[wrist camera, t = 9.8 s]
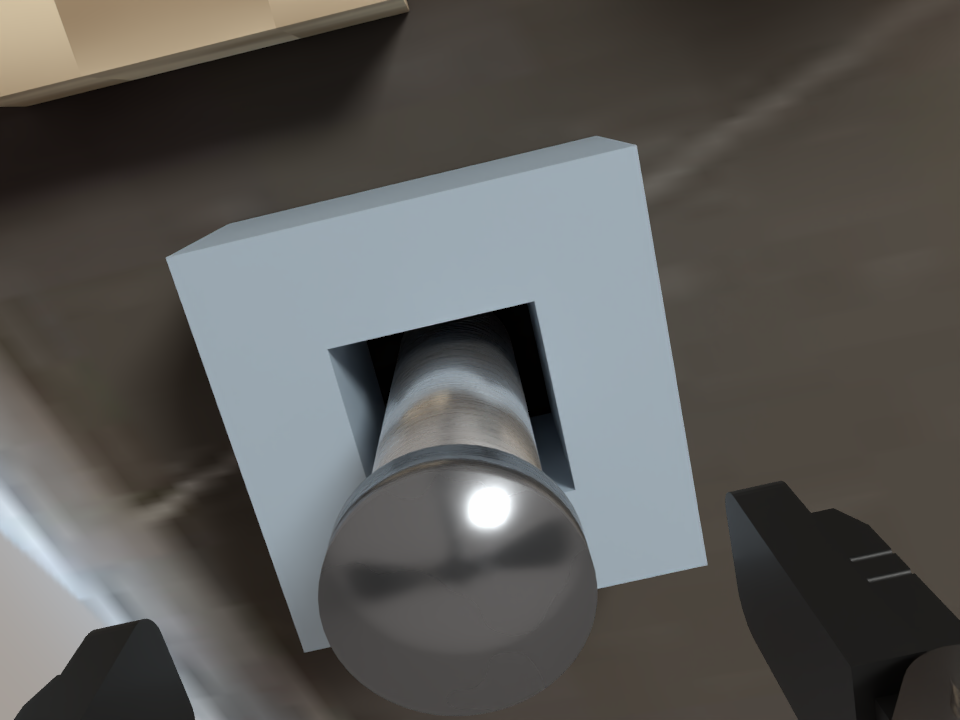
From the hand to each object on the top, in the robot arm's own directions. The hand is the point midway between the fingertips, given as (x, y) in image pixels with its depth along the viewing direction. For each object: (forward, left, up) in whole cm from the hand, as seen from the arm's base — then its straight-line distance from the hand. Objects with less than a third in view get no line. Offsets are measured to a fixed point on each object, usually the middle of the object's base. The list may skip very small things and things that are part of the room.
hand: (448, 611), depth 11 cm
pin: (0, 0, -13) cm, 12 cm away
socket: (0, 0, -12) cm, 12 cm away
